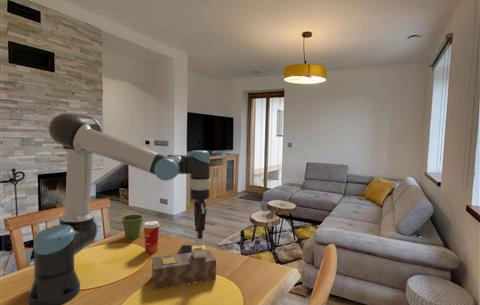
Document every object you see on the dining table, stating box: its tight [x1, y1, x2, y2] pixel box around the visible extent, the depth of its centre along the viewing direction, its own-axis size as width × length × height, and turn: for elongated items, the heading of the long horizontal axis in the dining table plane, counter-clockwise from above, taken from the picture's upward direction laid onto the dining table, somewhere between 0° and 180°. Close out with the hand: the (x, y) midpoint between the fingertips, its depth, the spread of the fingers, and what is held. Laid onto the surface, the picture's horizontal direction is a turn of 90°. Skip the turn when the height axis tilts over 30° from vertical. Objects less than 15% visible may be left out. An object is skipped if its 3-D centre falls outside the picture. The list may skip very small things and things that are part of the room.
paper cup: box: [142, 220, 160, 254], centre depth 134 cm, size 8×8×14 cm
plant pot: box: [120, 213, 145, 240], centre depth 151 cm, size 12×12×11 cm
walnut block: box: [151, 249, 217, 291], centre depth 109 cm, size 24×10×8 cm, turn 111°
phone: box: [177, 244, 193, 254], centre depth 133 cm, size 8×1×15 cm
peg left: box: [162, 257, 176, 265], centre depth 107 cm, size 5×5×7 cm
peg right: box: [192, 243, 207, 261], centre depth 111 cm, size 5×5×7 cm
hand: (199, 245), depth 111 cm, fingers closed
